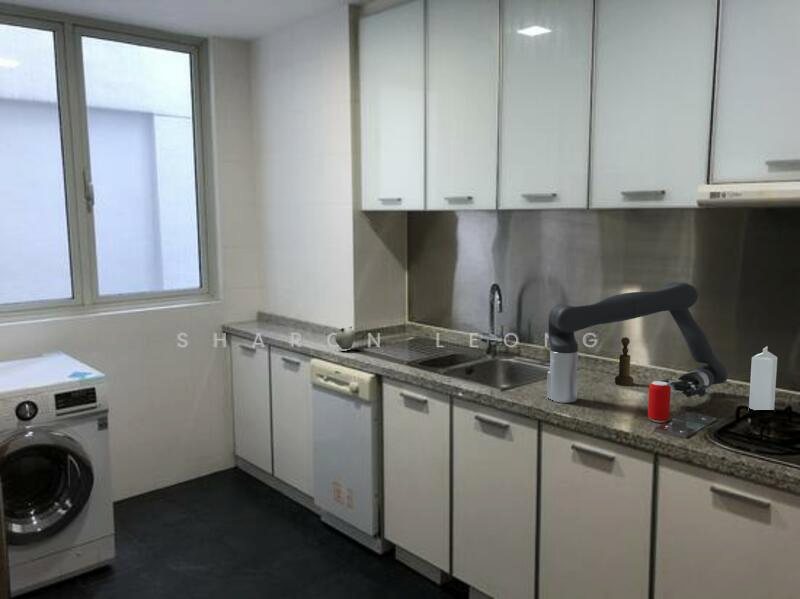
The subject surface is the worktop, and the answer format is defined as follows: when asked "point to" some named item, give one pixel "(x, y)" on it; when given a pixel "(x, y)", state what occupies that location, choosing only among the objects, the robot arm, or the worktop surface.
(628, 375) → the brown wooden figurine
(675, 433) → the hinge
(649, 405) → the beverage can
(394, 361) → the worktop surface
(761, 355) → the milk
